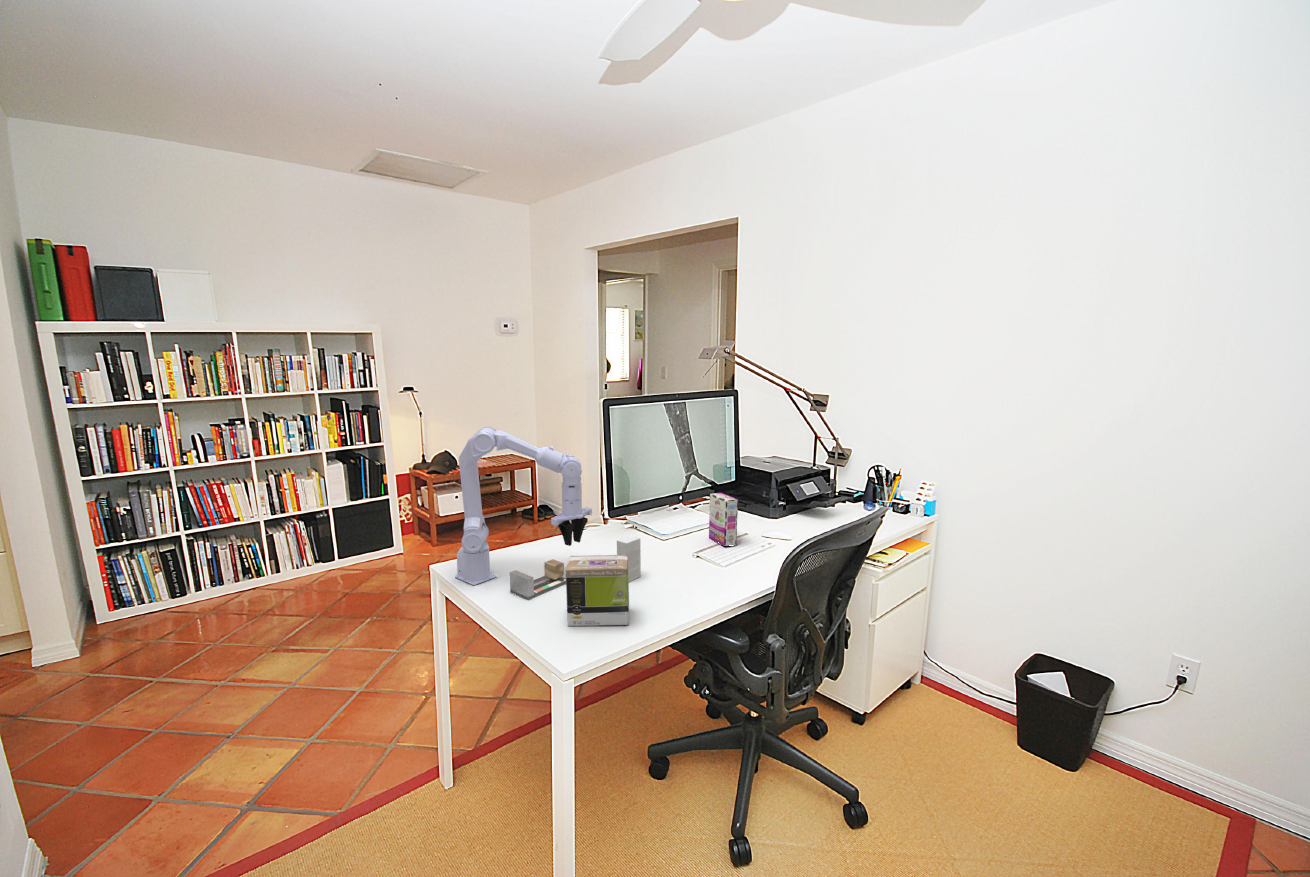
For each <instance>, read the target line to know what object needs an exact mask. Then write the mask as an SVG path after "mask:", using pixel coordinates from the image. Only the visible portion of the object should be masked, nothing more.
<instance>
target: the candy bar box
mask: <svg viewBox="0 0 1310 877" xmlns="http://www.w3.org/2000/svg"><path fill="white" fill-rule="evenodd" d="M738 508H739V499H738V498H735V497H733V496H730V495H728V494H725V493H723V492H715V493H710V494H709V514H708V515H709V518H708V519H709V520H708V522H709V523H708V525H709V526H708V538H709V539H710V540H711V539H712V540H711V541H713V540H714V541H713V542H715V541H716V542H719V543H720V544H721V545H723V546H729V545H736V546H737V535H738V532H737V530H738ZM716 542H715V543H716ZM720 544H719V545H720ZM721 545H720V546H721ZM723 546H722V547H723Z"/></svg>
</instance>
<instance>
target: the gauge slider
mask: <svg viewBox="0 0 1310 877" xmlns="http://www.w3.org/2000/svg"><path fill="white" fill-rule="evenodd" d="M543 564H544V565H543V568H544V570H543V571H544V572H543V573H544V576H547V577H549V578H552V579H558V580H561V581H564V578H565V577H564V575H565V568H564V567H565V563H564V562H563V561H560V560H556V559H554V558H552V559H549V560H548V561H544V563H543ZM561 577H564V578H561Z"/></svg>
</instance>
